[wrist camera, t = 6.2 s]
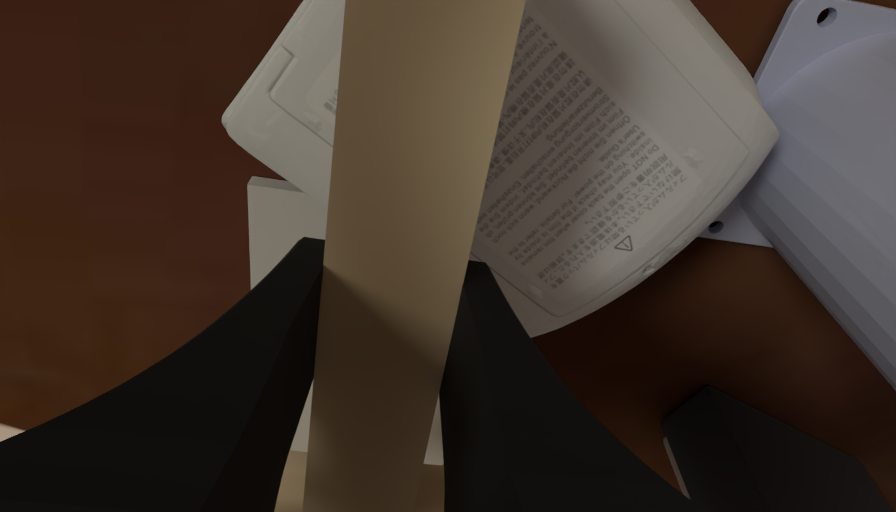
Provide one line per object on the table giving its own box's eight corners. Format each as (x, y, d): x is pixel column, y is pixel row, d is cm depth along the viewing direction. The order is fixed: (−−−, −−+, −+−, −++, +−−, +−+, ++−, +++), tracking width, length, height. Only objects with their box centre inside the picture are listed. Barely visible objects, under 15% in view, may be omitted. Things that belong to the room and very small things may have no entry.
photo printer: (247, 98, 17) (531, 309, 22) (193, 150, 14) (548, 391, 18) (471, -233, 13) (768, 108, 17) (479, -285, 10) (853, 161, 14)
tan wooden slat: (596, -68, 11) (674, -78, 8) (453, 479, 18) (459, 604, 15) (286, -134, 10) (214, -177, 7) (265, 461, 18) (225, 588, 14)
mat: (539, 218, 20) (541, 227, 20) (465, 455, 28) (465, 466, 28) (252, 175, 19) (247, 184, 19) (259, 435, 27) (256, 446, 26)
